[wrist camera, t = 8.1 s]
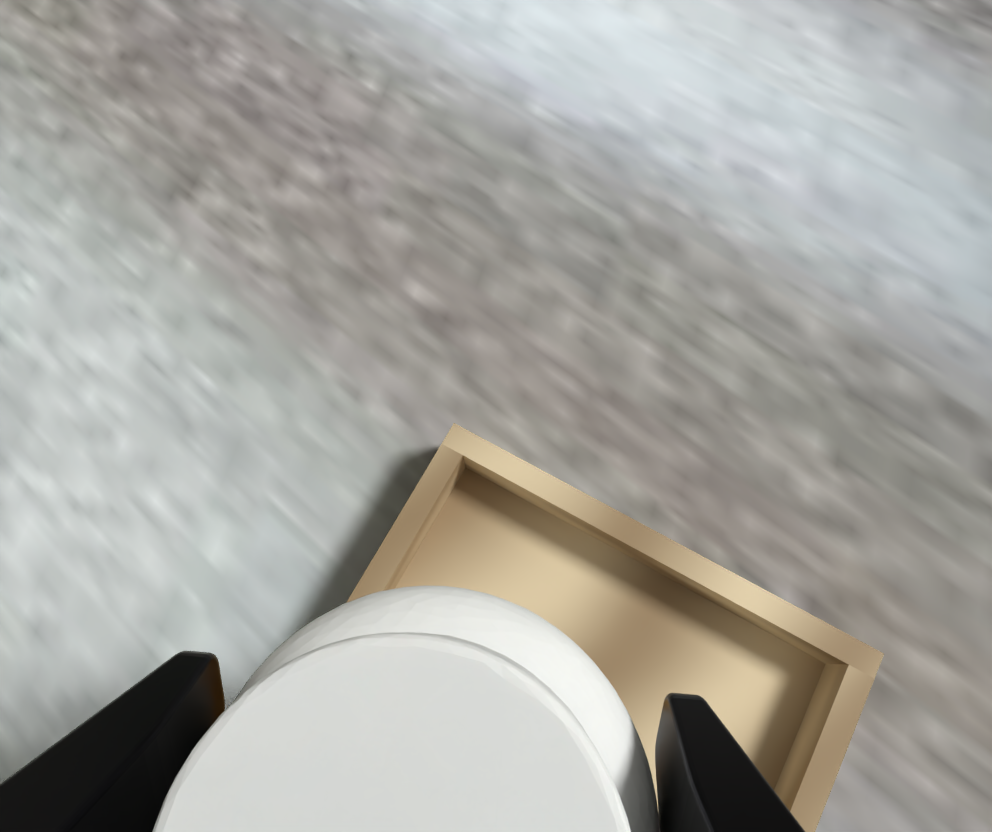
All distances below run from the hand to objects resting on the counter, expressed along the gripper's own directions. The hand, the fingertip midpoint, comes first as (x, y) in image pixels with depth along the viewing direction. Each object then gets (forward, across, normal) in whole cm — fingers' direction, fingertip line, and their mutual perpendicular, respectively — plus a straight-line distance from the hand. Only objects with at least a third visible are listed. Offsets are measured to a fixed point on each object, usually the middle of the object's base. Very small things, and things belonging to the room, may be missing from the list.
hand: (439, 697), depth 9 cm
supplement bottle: (+4, 0, +6) cm, 7 cm away
